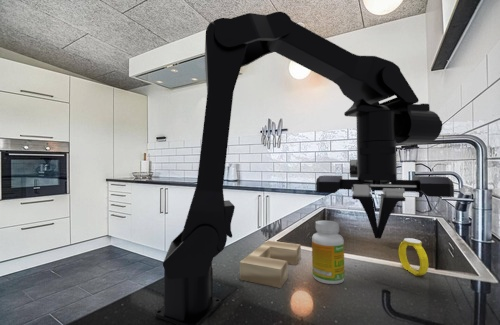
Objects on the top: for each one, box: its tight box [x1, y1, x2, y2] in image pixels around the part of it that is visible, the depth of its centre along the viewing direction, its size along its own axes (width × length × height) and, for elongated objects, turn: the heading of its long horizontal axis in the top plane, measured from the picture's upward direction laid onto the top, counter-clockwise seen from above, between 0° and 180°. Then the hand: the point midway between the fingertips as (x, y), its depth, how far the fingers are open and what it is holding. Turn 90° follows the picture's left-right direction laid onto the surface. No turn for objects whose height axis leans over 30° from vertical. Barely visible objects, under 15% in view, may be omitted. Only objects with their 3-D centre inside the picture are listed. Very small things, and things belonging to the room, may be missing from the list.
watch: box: [398, 237, 430, 276], centre depth 44 cm, size 6×3×6 cm, turn 3°
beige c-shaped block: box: [239, 240, 302, 289], centre depth 47 cm, size 14×8×3 cm, turn 155°
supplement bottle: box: [311, 220, 345, 285], centre depth 42 cm, size 5×5×10 cm
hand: (377, 237), depth 39 cm, fingers closed
